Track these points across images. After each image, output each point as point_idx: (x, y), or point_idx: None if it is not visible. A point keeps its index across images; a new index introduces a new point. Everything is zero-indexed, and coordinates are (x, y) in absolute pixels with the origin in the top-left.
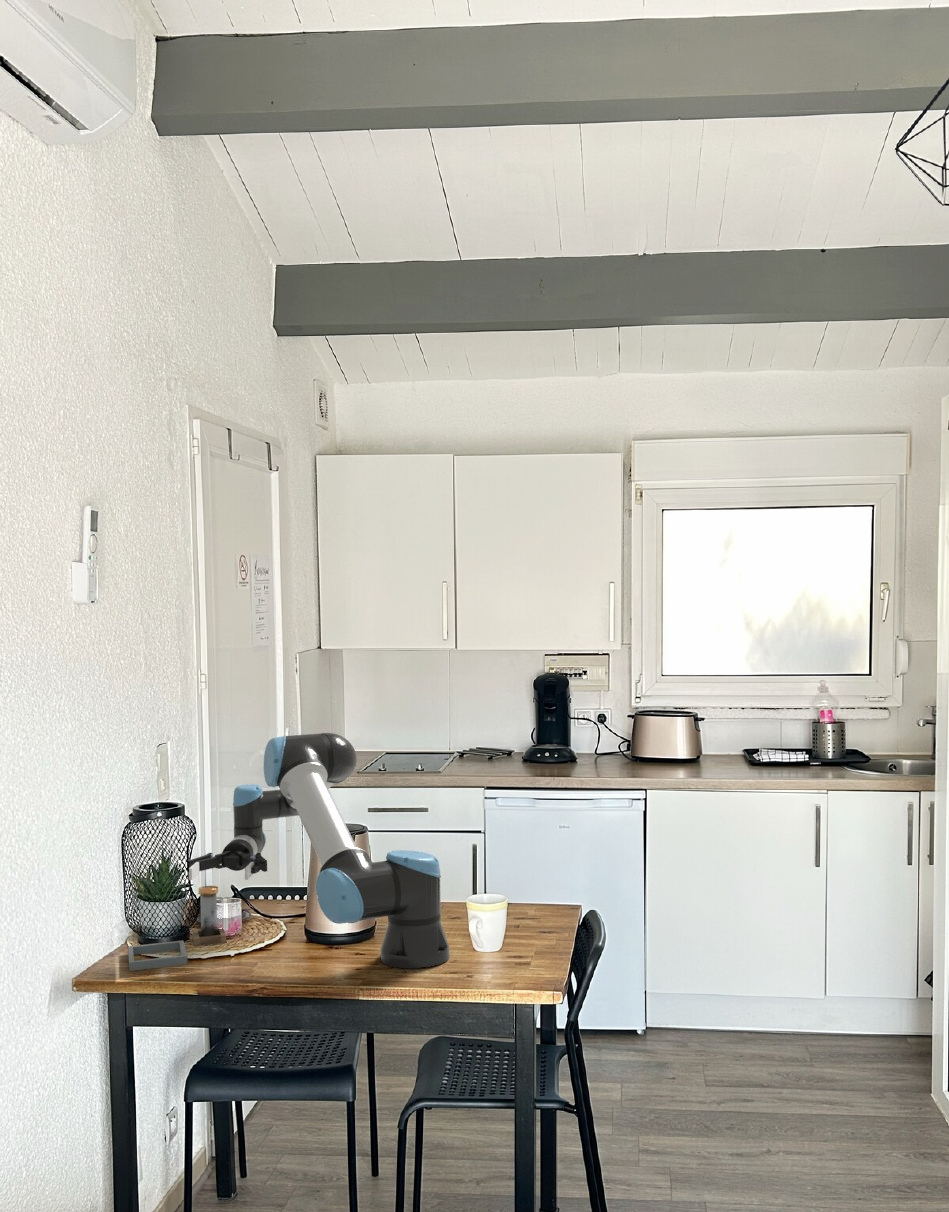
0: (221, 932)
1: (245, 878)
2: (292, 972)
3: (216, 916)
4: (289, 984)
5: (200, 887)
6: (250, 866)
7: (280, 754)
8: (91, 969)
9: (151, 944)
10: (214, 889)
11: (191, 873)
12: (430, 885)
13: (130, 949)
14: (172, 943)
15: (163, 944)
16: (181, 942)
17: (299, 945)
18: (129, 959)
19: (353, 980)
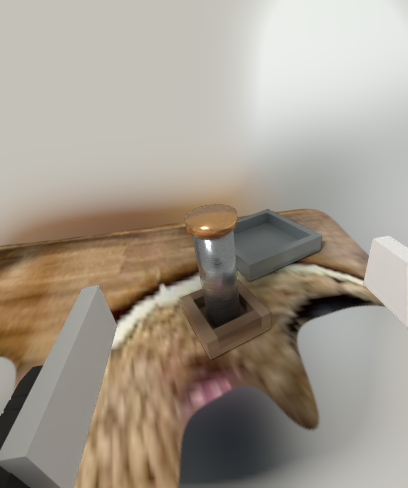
0: (196, 311)
1: (112, 321)
2: (77, 257)
3: (200, 278)
4: (85, 238)
5: (235, 214)
6: (60, 339)
7: None
8: (332, 224)
9: (291, 245)
10: (189, 212)
11: (370, 259)
12: None
13: (306, 230)
14: (260, 256)
15: (273, 251)
16: (246, 258)
17: (40, 343)
18: (276, 213)
19: (16, 254)
